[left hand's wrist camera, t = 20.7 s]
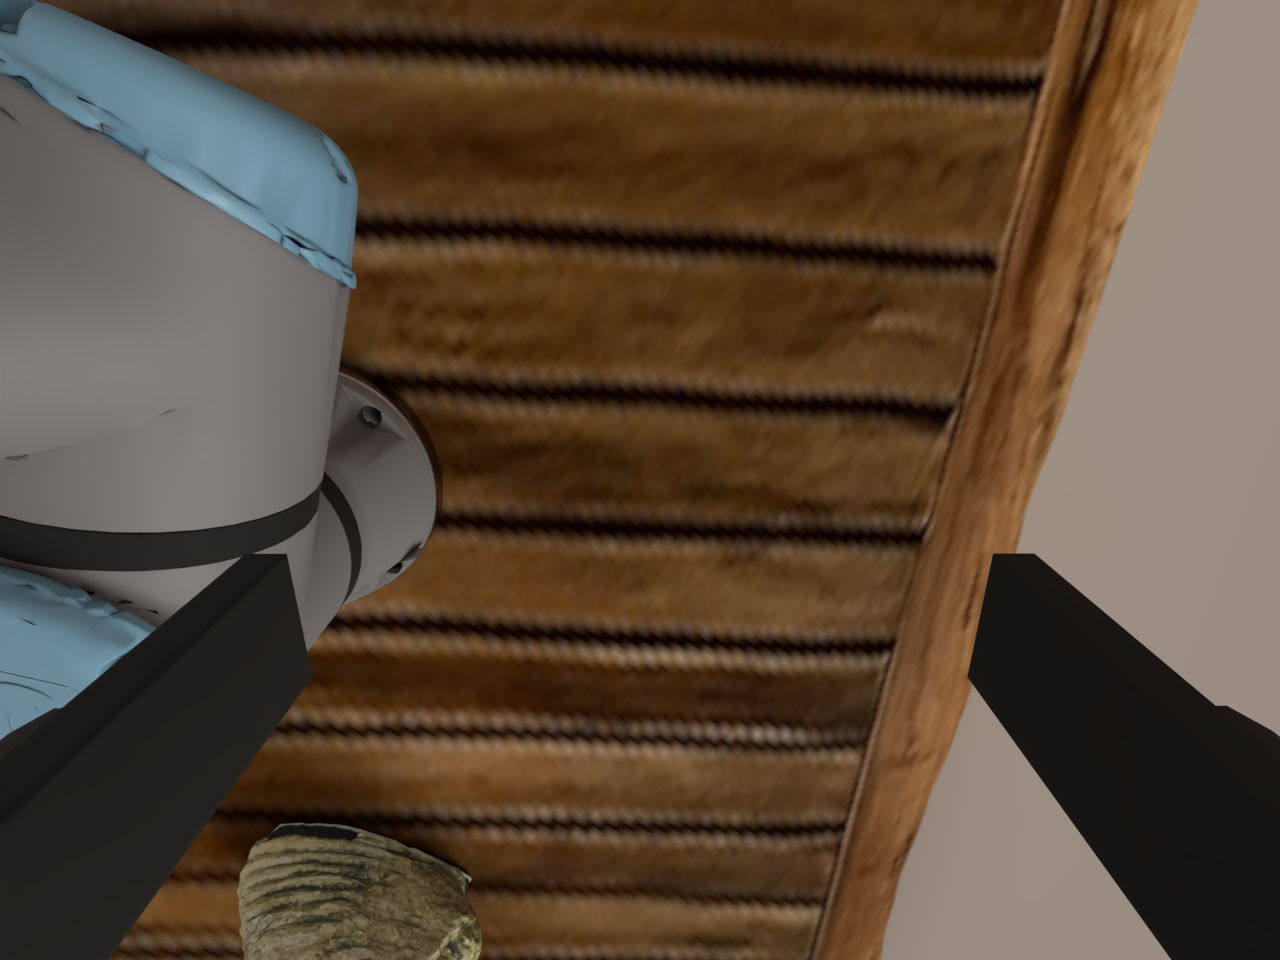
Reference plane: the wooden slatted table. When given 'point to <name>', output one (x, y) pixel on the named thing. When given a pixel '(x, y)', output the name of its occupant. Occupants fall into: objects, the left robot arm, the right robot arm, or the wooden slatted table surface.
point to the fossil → (351, 899)
